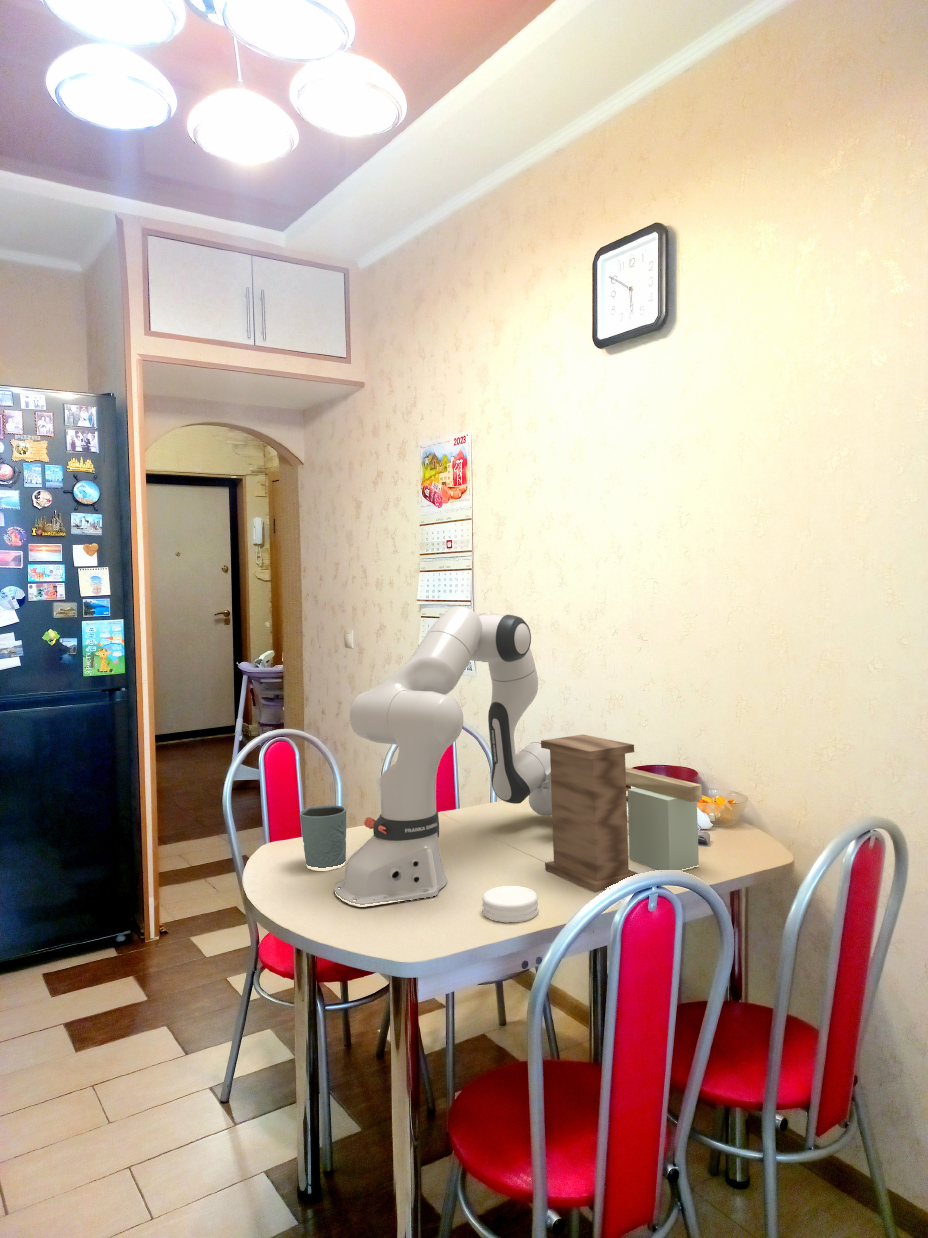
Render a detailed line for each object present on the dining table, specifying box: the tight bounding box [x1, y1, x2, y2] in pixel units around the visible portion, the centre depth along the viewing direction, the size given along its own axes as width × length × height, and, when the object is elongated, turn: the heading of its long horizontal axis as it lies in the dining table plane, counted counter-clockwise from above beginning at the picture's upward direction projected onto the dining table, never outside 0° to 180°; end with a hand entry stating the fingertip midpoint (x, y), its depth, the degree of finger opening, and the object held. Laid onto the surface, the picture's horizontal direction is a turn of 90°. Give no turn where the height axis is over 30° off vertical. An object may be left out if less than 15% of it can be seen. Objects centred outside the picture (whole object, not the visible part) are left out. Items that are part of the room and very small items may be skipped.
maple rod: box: [625, 766, 703, 802], centre depth 175 cm, size 3×24×3 cm, turn 30°
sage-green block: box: [627, 787, 700, 872], centre depth 173 cm, size 8×12×15 cm, turn 30°
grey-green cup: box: [299, 804, 347, 868], centre depth 180 cm, size 10×10×12 cm
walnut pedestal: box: [540, 734, 639, 893], centre depth 167 cm, size 11×16×27 cm
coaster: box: [481, 885, 539, 924], centre depth 149 cm, size 10×10×4 cm
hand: (603, 761), depth 189 cm, fingers open, 8 cm apart
